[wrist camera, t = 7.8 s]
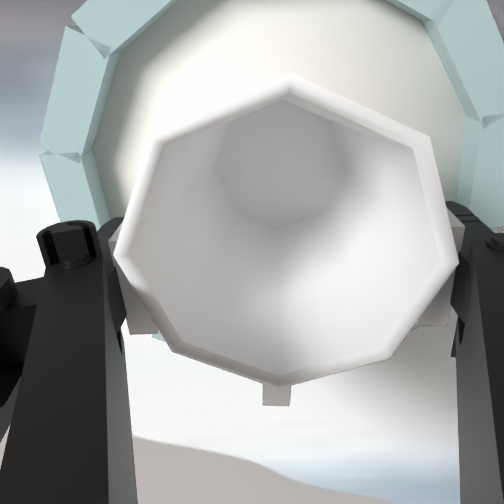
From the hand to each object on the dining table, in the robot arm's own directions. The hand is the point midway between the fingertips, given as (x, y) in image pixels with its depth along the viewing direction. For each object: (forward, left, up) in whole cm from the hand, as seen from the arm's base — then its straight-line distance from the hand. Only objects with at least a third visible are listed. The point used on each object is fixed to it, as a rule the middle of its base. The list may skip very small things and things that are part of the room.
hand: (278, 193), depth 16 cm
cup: (0, 0, -1) cm, 1 cm away
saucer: (0, 0, -2) cm, 2 cm away
